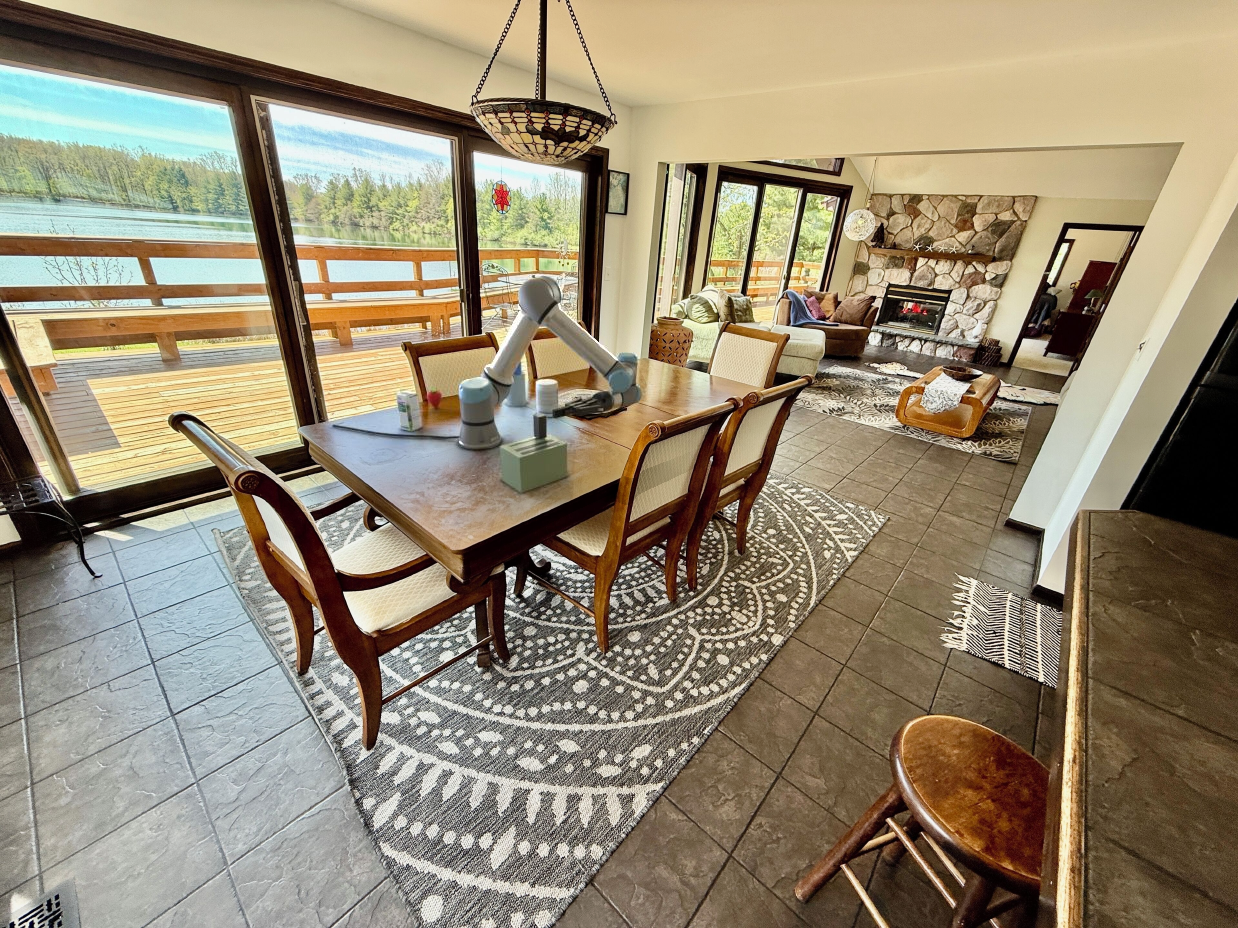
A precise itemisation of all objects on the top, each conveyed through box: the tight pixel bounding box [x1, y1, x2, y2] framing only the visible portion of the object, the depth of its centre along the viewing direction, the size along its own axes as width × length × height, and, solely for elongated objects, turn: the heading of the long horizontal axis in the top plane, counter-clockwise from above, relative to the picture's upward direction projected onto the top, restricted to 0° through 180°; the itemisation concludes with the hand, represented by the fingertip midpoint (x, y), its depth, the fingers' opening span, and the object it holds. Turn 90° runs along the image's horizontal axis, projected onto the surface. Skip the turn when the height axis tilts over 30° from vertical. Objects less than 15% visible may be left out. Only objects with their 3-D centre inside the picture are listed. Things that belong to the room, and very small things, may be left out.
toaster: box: [499, 433, 568, 494], centre depth 154 cm, size 18×11×12 cm, turn 134°
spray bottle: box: [505, 360, 527, 407], centre depth 218 cm, size 9×9×25 cm
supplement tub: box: [535, 378, 559, 418], centre depth 209 cm, size 10×10×15 cm
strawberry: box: [426, 387, 443, 409], centre depth 211 cm, size 6×8×10 cm
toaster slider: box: [532, 413, 548, 439], centre depth 155 cm, size 3×3×8 cm
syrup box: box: [395, 390, 422, 432], centre depth 187 cm, size 6×6×14 cm
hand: (553, 414), depth 157 cm, fingers closed
